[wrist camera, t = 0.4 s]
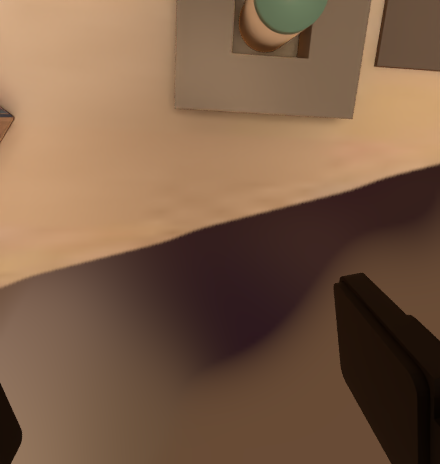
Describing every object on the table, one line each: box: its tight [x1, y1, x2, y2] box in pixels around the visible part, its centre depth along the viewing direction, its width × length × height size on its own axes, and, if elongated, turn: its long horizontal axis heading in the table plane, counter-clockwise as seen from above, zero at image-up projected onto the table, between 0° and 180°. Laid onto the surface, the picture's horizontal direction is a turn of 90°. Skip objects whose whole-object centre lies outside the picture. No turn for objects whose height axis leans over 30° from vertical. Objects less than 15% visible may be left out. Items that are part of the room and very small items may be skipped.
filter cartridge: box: [239, 0, 328, 52], centre depth 30 cm, size 5×5×10 cm
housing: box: [175, 0, 371, 119], centre depth 33 cm, size 16×16×4 cm
